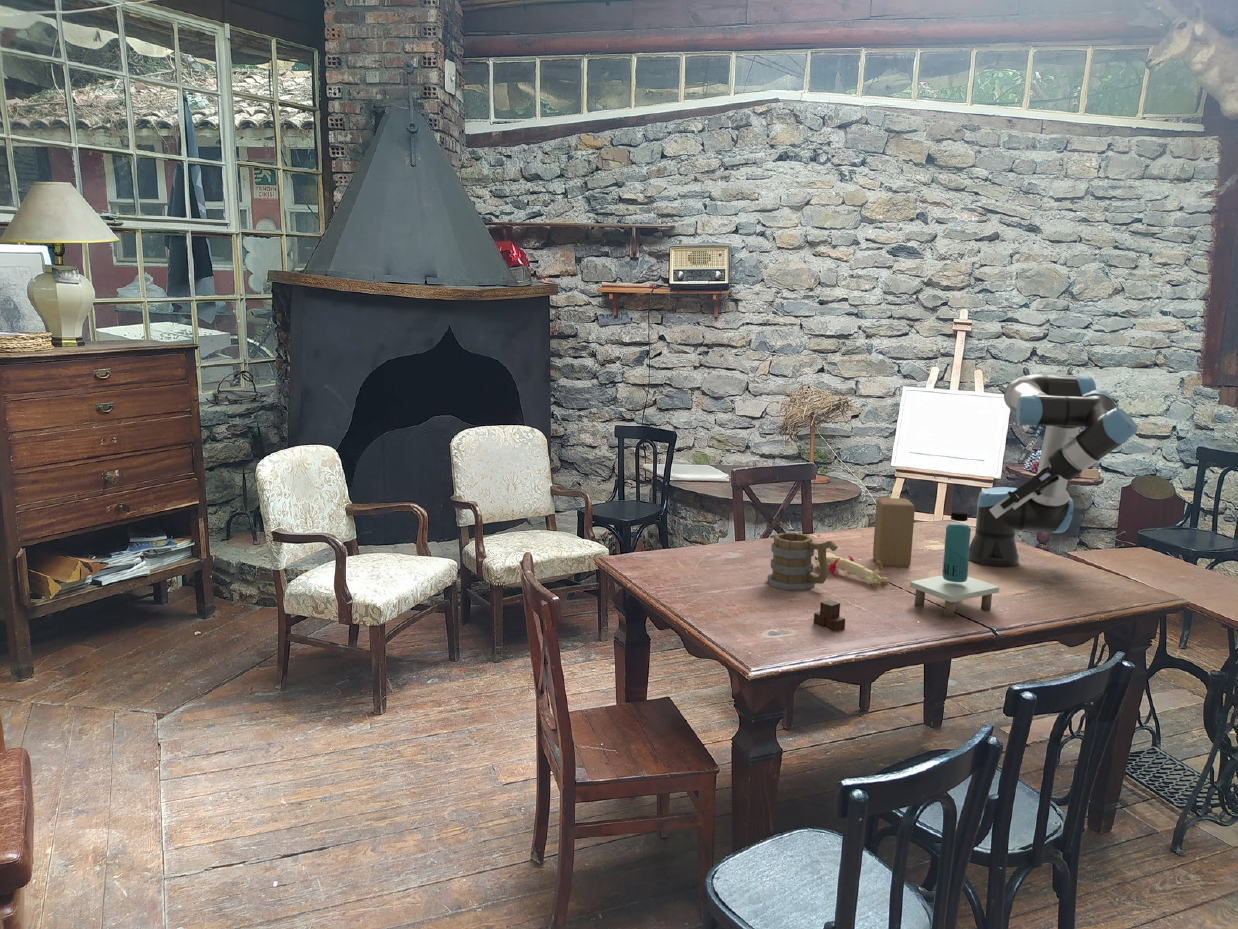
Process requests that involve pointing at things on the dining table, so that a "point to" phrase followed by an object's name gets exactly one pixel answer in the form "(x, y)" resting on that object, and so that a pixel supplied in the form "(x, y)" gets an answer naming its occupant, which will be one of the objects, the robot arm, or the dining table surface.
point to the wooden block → (893, 532)
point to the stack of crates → (829, 616)
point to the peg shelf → (953, 592)
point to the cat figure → (855, 569)
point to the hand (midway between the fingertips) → (1002, 509)
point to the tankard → (797, 561)
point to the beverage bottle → (956, 549)
